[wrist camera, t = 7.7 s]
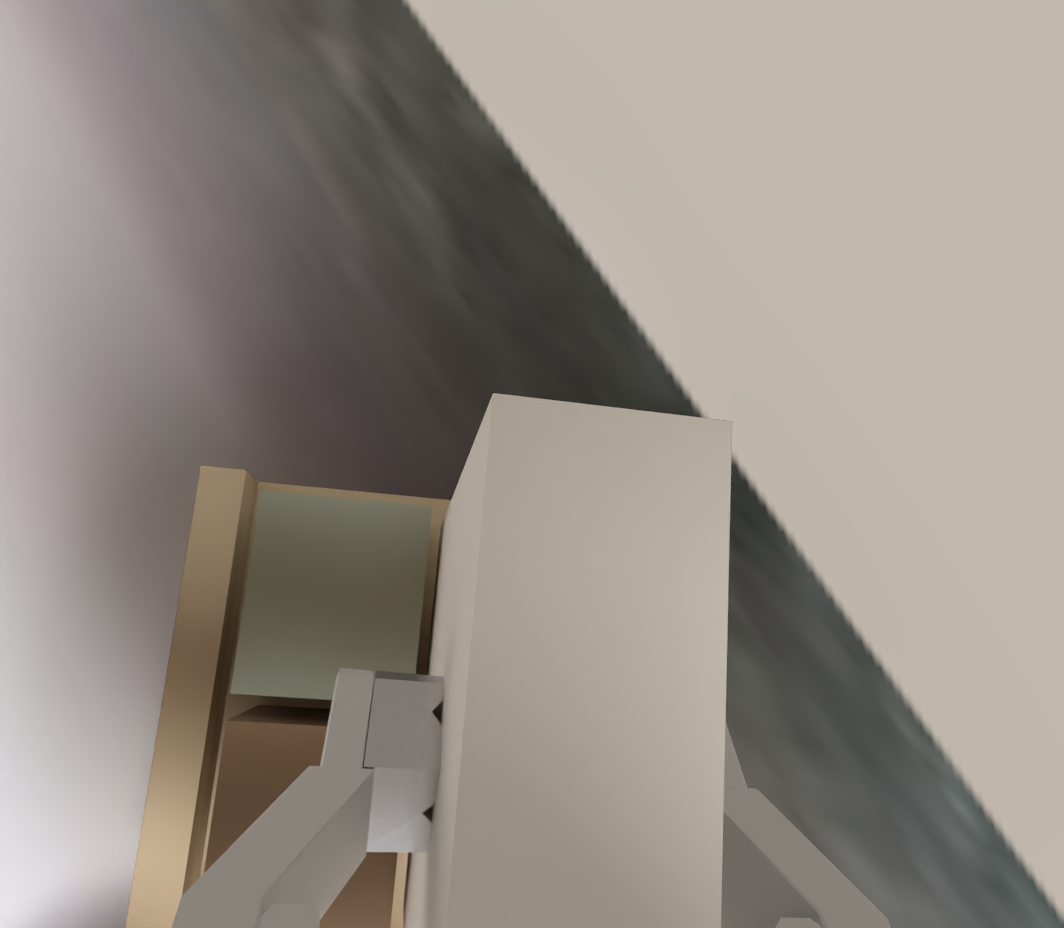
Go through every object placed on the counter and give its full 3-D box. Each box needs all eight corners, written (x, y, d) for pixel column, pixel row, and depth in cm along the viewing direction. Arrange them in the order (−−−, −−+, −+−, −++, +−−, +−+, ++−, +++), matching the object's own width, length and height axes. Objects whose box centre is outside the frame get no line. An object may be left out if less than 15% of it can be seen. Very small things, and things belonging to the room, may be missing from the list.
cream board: (520, 907, 17) (711, 1354, 7) (403, 904, 17) (406, 1369, 6) (546, 537, 19) (732, 421, 8) (440, 527, 19) (492, 393, 8)
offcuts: (391, 895, 18) (387, 955, 15) (232, 890, 18) (192, 950, 15) (427, 527, 20) (432, 506, 17) (285, 514, 20) (259, 490, 16)
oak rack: (583, 921, 20) (632, 1003, 16) (158, 909, 19) (82, 996, 14) (604, 520, 22) (652, 493, 18) (224, 485, 21) (176, 445, 16)
